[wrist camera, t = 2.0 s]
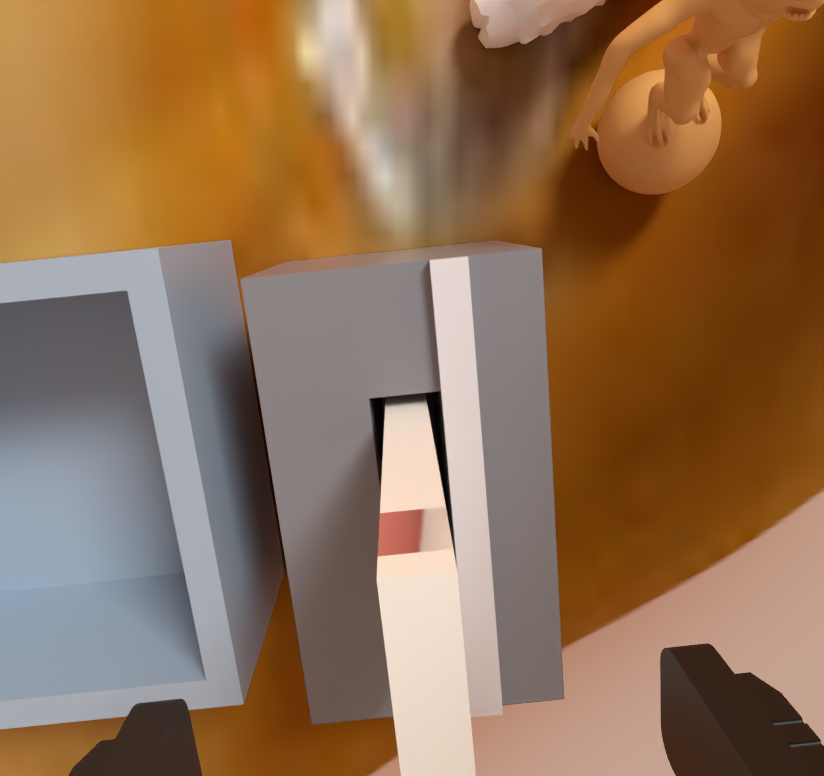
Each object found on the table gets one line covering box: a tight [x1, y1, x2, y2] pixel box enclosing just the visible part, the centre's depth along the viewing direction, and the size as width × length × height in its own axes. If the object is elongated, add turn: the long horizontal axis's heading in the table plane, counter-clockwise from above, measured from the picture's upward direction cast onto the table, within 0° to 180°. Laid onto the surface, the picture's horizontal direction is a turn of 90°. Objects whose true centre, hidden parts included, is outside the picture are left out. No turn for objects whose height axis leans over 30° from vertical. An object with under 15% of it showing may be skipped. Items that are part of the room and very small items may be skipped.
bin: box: [0, 240, 285, 729], centre depth 23 cm, size 14×14×8 cm
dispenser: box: [240, 240, 564, 725], centre depth 23 cm, size 14×8×8 cm, turn 6°
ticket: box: [377, 393, 476, 776], centre depth 18 cm, size 6×1×16 cm, turn 6°
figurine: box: [568, 0, 824, 195], centre depth 19 cm, size 8×6×12 cm
